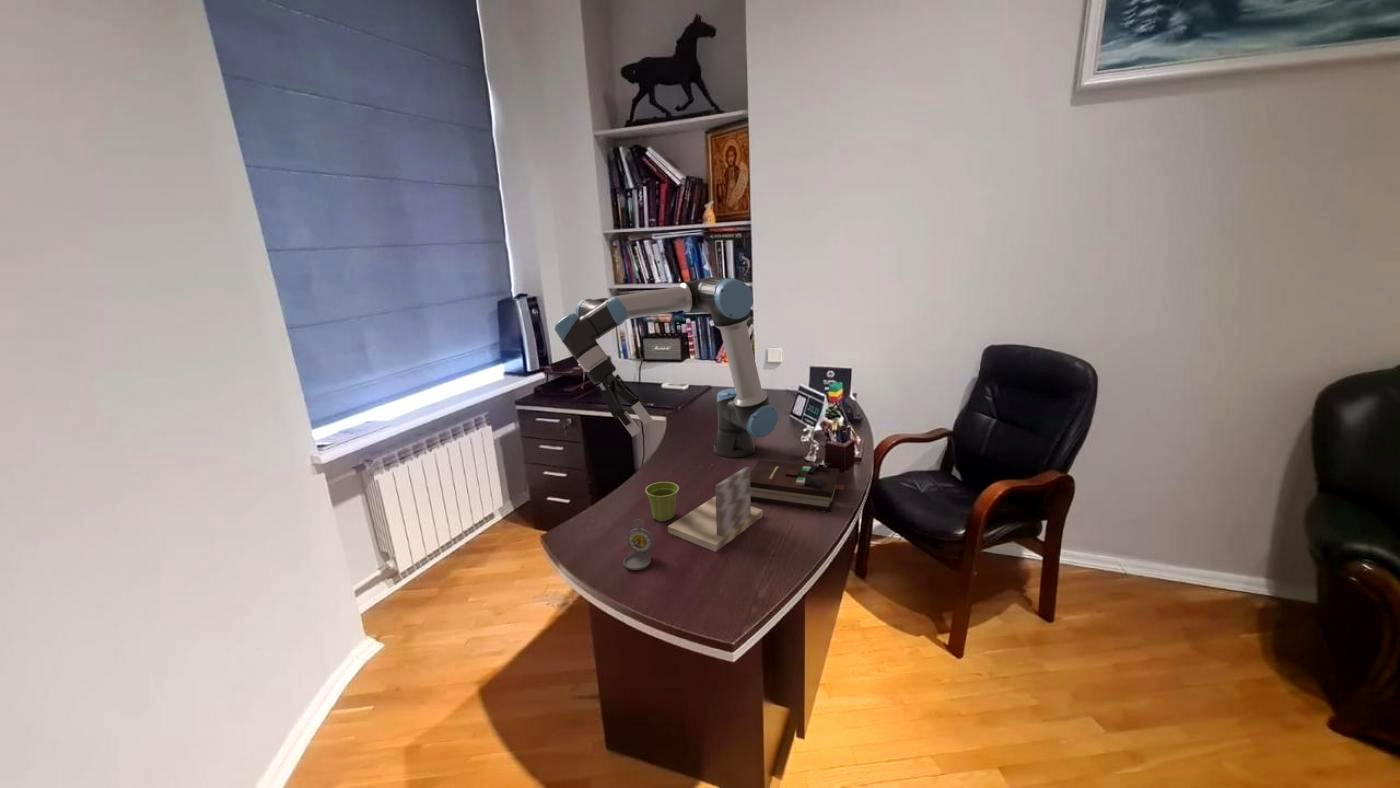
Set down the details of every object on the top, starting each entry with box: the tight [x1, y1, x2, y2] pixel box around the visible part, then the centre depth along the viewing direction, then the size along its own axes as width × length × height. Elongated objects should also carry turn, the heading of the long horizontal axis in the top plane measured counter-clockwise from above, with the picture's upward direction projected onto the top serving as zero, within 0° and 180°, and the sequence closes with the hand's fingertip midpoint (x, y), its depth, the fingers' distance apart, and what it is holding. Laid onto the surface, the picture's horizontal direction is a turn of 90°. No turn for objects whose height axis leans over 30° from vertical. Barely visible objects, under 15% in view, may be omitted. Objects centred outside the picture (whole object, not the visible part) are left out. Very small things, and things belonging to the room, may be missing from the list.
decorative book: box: [750, 459, 846, 513], centre depth 165 cm, size 19×8×30 cm
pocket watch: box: [622, 518, 654, 571], centre depth 133 cm, size 8×8×10 cm
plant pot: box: [644, 481, 680, 522], centre depth 154 cm, size 9×9×9 cm
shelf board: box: [667, 466, 764, 553], centre depth 147 cm, size 22×16×16 cm
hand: (643, 427), depth 151 cm, fingers open, 13 cm apart
